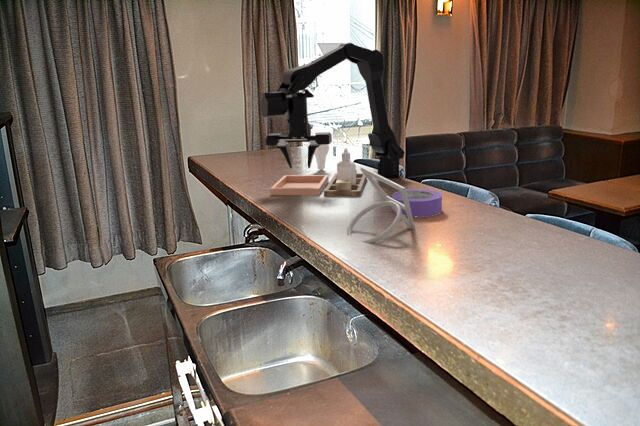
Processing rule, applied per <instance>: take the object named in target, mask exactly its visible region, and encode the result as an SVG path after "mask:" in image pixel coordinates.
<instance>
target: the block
mask: <svg viewBox="0 0 640 426" xmlns="http://www.w3.org/2000/svg"><path fill="white" fill-rule="evenodd" d="M335 185H336V190H351V180H337V181H336V183H335Z"/></svg>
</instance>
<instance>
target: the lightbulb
mask: <svg viewBox="0 0 640 426" xmlns="http://www.w3.org/2000/svg"><path fill="white" fill-rule="evenodd" d="M329 151H330V144H326V145H320V146H319V147H318V148H316V150H315V152H314V155H313V156H314V157H315V160H316V164H317V169H318V170H319V171H324V169H325V168H326V164H325V163H326V160H327V159H326V158H327V156H328V153H329Z"/></svg>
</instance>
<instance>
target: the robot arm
mask: <svg viewBox="0 0 640 426" xmlns="http://www.w3.org/2000/svg"><path fill="white" fill-rule="evenodd" d="M345 60H347V61H349V62H351V63H352V64H356V66H357V68H358V69H357V70H358V72H359V74H360V76H361V77H362V79H363V80H364V82H365V85H366V86H365V87H366V92H367V97H368V103H369V109H370V115H371V120H372V131H371V132H370V133H368V134H367V137H368V141H369V145H368V146H370V147H371V150H372V151H374V153H375V156H376V157H379V158H378V159H379V161H377V174H378V175H380V176H382V177H384V178H386V179H400V177H401V174H400V159H401V160H402V159H404V156H405V153H406V152H405V151H404V149H402V147H401V146H400V145H399V144H398V141H397V140H398V139H397V137H396V134H395V132H394V131H393V129H392V127H391V126H390V123H389V118H388V117H389V116H388V111H387V106H386V105H387V104H386V100H385V94H384V88H383V82H382V81H383V80H382V78H383V74H384V71H385V57H384V54H383V53H382V52H381V51H380V50H378V49H369V48H366V47H363V46H359V45H356V44H354V43H352V42H342V43H341V44H339V45H338V46H337V47H336V48H334V49H332V50H330V51H329V52H327V53H325V54H323V55H321V56H320V57H318V58H316V59H315V60H313V61H311V62H309V63H307V64H304V65H300V66H296V67H292V68H290V69H288V70H286V71H285V72H284V73H283V76H282V82H281V83H280V85H279V87H278V88H277V90H276V91H274V92H269V91H263V92H262V95H261V99H260V104H259V108H260V113H261V115H262V117H263V118H273V117H284V116H285V115H286V113H287V120H286V123H287V124H286V125H287V133H288V134H287V135H283V133H281V132H279V133H277V132H275V133H269V134H267V135H266V136H265V138H264V141H265V146H276V149H279V150H280V151H281V153H282V154H283V156H284V158H285V160H286V162H287V164H288V167H289V168H290V169H293V159H292V158H293V157H292V153H291V143H309V145H308V146H307V168H308V169H310V168H311V166H312V161H313V158H314V156H315V155H314V152H315V150H316V148H318V147H319V146H320V145H326V144H329V145H330V144H331V143H332V141H333V138H332V137H333V136H332V133H331V132H330V131H327V132H317V133H316V134H315V135H312V125H311V123H309V122H310V121H309V117H308V98H310V99H311V98H314V94H313V93H312V92H310V90H309V89H308V87H309V86H310V85H312V84H313V82H315V80H316V79H317V77H319V76H320V75H321V74H323V73H325V72H327V71H329V70H330V69H331V68H334V67H335V66H337V65H339V64H340V63H342V62H343V61H345ZM289 95H290V96H289Z"/></svg>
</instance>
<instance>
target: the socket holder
mask: <svg viewBox="0 0 640 426" xmlns="http://www.w3.org/2000/svg"><path fill="white" fill-rule="evenodd" d="M367 180H368V178H367V177H366V176H365V175H364V174H363V172H362V173H361V172H357V178H356V185H351V190H336V184H335V183H336V181H337V172H336V173H334V174H333V176H332V177H331V180H329V183H328V184H327V186H326V187H325V188H324V190H323V197H361V196H362V192H363V190H364V188H365V186H366V182H367Z"/></svg>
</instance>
